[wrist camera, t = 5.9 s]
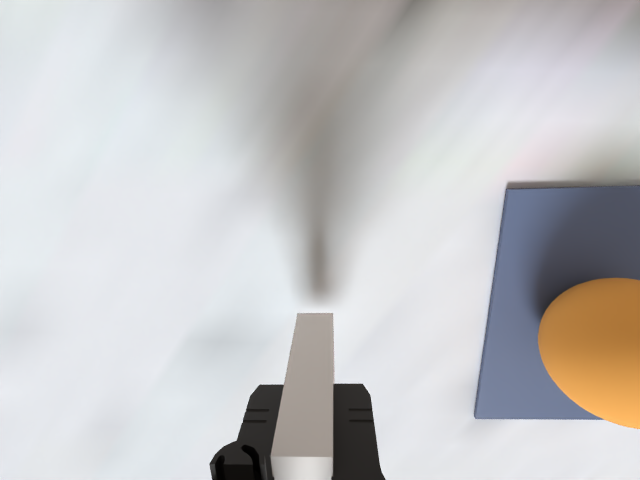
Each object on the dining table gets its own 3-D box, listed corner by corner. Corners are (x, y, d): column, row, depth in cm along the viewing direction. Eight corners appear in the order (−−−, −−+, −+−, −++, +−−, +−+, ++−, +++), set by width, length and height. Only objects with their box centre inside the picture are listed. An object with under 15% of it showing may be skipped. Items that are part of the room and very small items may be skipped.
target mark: (473, 415, 18) (475, 418, 18) (506, 189, 14) (508, 190, 14) (713, 416, 18) (718, 419, 17) (815, 181, 14) (822, 182, 13)
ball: (569, 347, 18) (500, 387, 15) (594, 247, 16) (521, 274, 13) (725, 425, 13) (663, 498, 11) (784, 297, 11) (727, 351, 9)
